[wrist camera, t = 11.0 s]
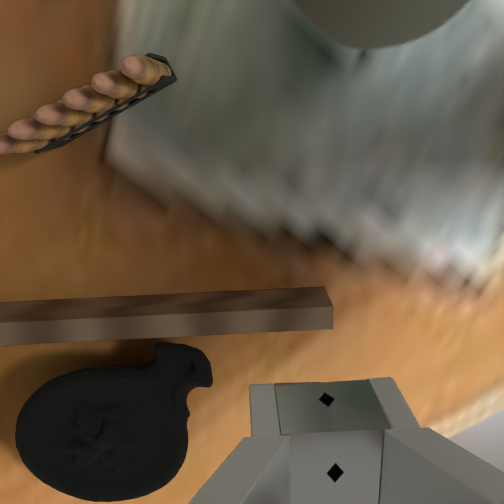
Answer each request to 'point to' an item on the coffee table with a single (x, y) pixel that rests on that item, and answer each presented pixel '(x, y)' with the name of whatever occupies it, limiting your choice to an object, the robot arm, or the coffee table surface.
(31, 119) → the ammunition clip
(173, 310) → the bracket
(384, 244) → the coffee table surface
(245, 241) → the coffee table surface
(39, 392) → the oil lamp
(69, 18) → the coffee table surface
